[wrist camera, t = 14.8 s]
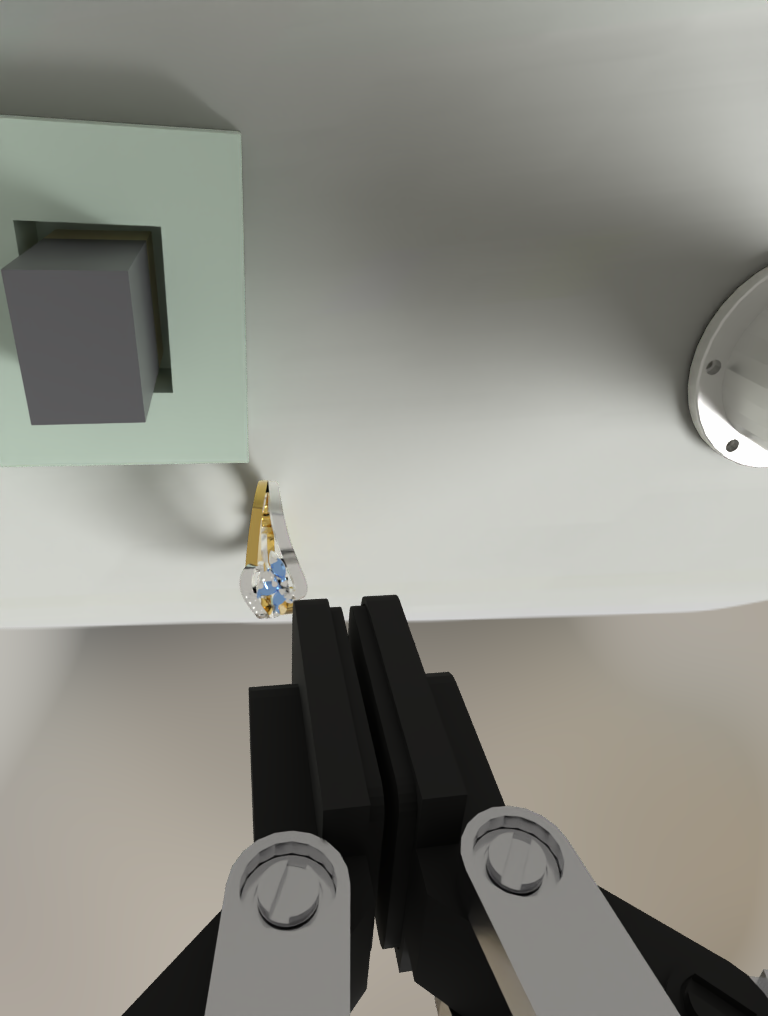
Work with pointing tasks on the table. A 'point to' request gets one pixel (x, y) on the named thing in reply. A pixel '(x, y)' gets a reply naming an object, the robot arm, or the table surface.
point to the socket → (179, 277)
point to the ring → (270, 558)
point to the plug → (86, 326)
